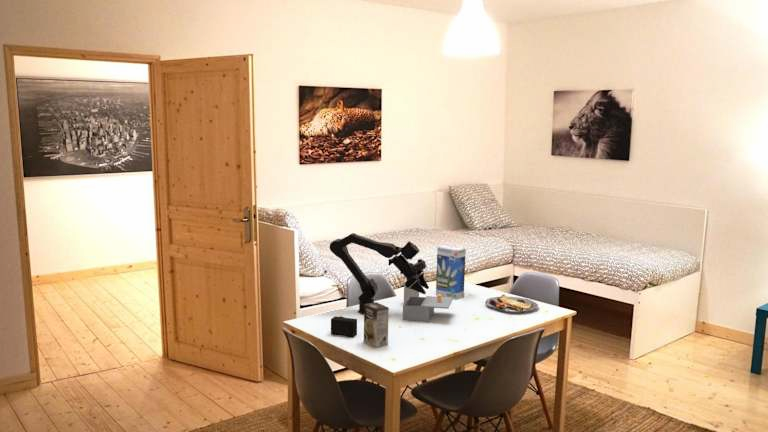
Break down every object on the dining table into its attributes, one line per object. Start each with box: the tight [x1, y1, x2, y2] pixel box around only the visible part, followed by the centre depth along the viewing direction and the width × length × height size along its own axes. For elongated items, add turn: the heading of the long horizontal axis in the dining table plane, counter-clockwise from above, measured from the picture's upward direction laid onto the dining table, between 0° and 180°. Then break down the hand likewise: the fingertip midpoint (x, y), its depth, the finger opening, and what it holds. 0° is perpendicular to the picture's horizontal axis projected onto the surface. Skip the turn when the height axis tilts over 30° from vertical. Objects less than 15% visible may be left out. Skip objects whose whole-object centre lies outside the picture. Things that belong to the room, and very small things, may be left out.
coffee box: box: [363, 301, 390, 349], centre depth 262 cm, size 9×6×16 cm
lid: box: [421, 294, 454, 310], centre depth 297 cm, size 12×16×4 cm
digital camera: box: [330, 315, 358, 338], centre depth 274 cm, size 10×5×7 cm, turn 69°
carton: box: [402, 296, 435, 323], centre depth 300 cm, size 12×16×7 cm
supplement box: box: [403, 278, 420, 304], centre depth 318 cm, size 7×7×13 cm
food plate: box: [485, 294, 539, 313], centre depth 317 cm, size 25×23×4 cm
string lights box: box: [435, 244, 467, 300], centre depth 334 cm, size 13×8×26 cm, turn 50°
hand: (426, 291), depth 298 cm, fingers open, 9 cm apart
